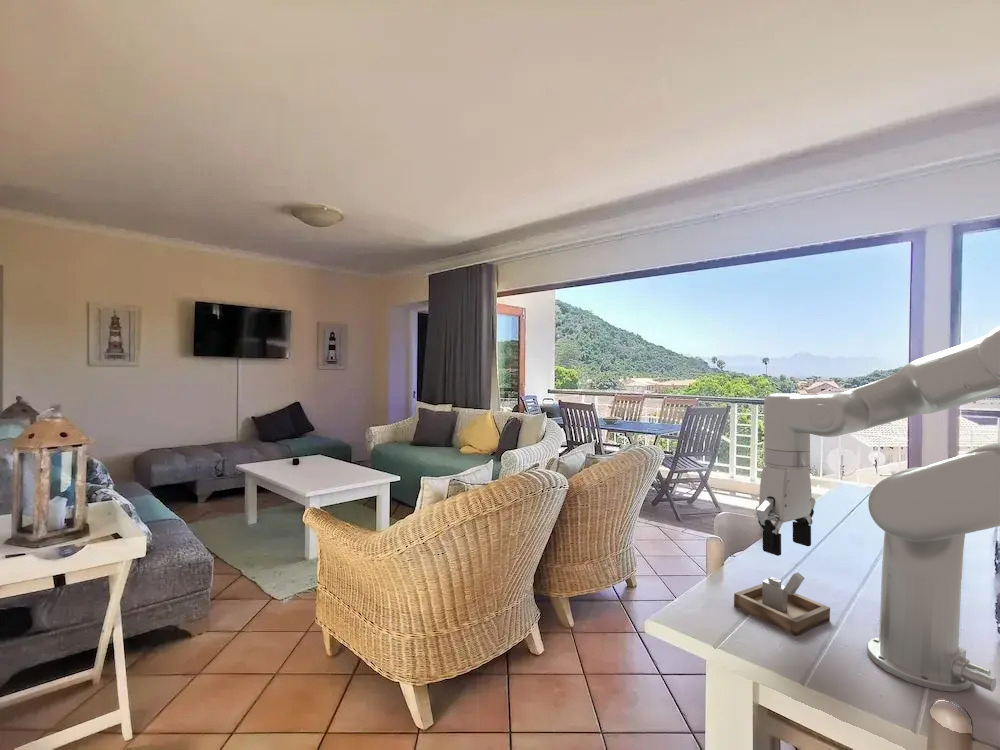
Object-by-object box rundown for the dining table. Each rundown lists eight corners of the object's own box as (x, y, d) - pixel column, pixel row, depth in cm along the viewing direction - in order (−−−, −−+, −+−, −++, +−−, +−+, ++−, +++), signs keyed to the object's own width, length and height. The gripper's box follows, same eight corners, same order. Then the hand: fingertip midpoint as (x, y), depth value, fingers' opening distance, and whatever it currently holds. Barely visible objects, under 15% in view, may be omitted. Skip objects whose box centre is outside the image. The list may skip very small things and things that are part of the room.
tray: (829, 620, 91) (830, 607, 91) (795, 636, 86) (796, 622, 86) (767, 593, 101) (767, 581, 101) (733, 605, 96) (734, 593, 96)
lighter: (761, 602, 96) (762, 562, 96) (766, 600, 97) (768, 560, 97) (798, 619, 90) (800, 576, 90) (803, 617, 91) (805, 574, 90)
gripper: (792, 452, 100) (793, 535, 100) (739, 459, 92) (740, 550, 92) (832, 457, 94) (833, 546, 94) (779, 466, 85) (779, 564, 85)
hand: (787, 548), depth 93 cm, fingers open, 9 cm apart
